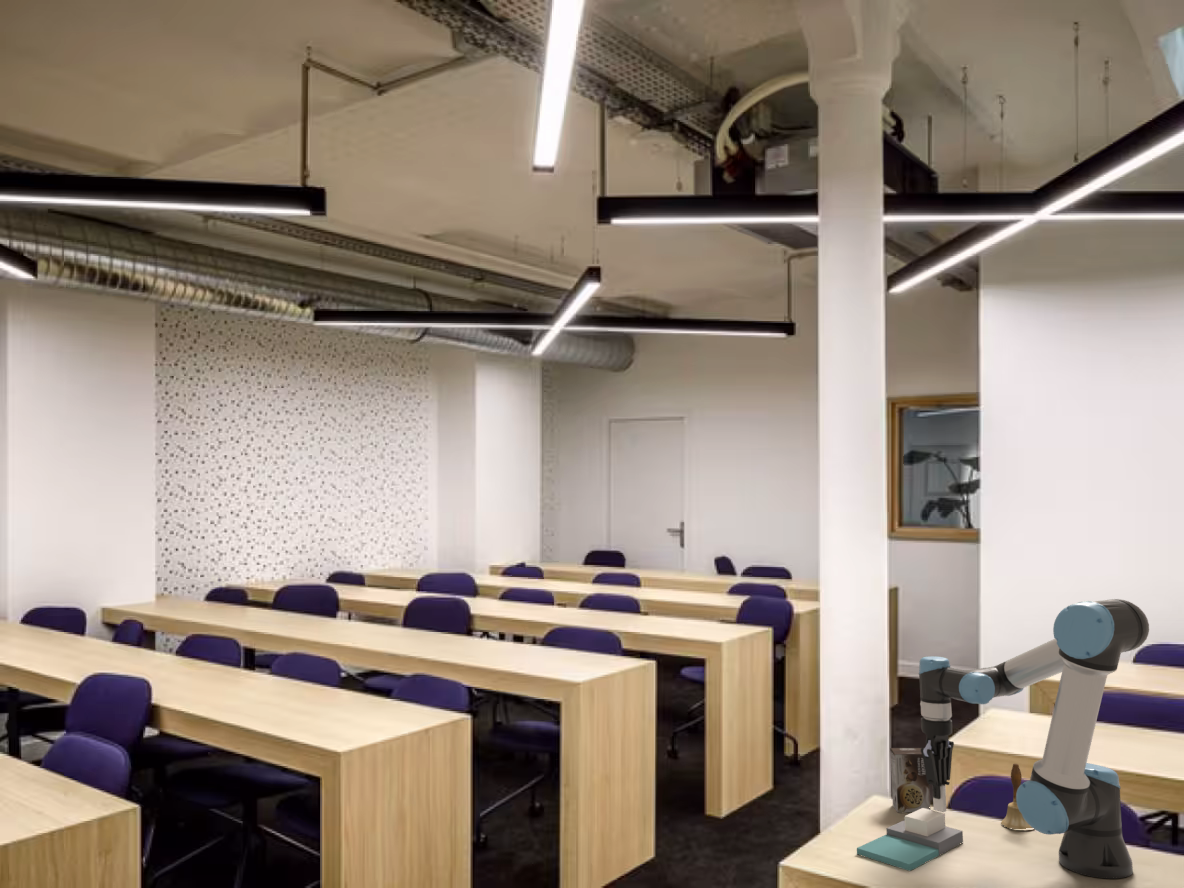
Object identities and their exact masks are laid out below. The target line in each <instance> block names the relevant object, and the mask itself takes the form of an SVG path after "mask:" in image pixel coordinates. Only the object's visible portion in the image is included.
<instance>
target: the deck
mask: <svg viewBox="0 0 1184 888" xmlns="http://www.w3.org/2000/svg"><path fill="white" fill-rule="evenodd" d="M886 834H887V835H890V836H894V837H897V838H901V839H904V840H907V841H911V842H914V843H918V844H921V845H925V846H928V847H932V848H935V849H938V850H939V856H941V855H943V854H945V853H947V852H949V851H951V850H952V848H953V849H954V847H955V846H956V847H958V846H960V845H961V844H960V843H962V842H963V843H964V831H963V830H961V829H957V828H953V827H950V826H946V825H945V828H944V829H942V830H940V831H938V832H936V833H933V834H931V835H929V836H924V835H920V834H917V833H913V832H910V831H906V830H905V819H904V820H901V821H899V822H897V823H895V824H893V825H890V826H888V827H886ZM963 843H962V844H963ZM959 844H960V845H959ZM957 845H958V846H957ZM956 847H955V848H956ZM950 849H951V850H950ZM948 850H949V851H948ZM946 851H947V852H946ZM942 853H943V854H942ZM940 854H941V855H940Z"/></svg>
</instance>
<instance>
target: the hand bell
mask: <svg viewBox="0 0 1184 888" xmlns="http://www.w3.org/2000/svg"><path fill="white" fill-rule="evenodd" d="M1022 780H1023V779H1022V772H1021V769H1020V766H1019V764H1018V763H1013V764H1012V768H1011V771H1010V781H1011V784H1012V789H1013V793H1012V795H1013V798H1012V799H1013V800H1012V802H1009V803H1008V805H1007V810H1006V816H1005V817H1004V818H1003V819H1002V820H1001V822H1000V825H1001V824H1002V825H1004V826H1005V827H1007V828H1006V829H1008V828H1012V829H1026V828H1032V827H1031V826H1030V825H1029V824H1028V823H1027V822H1026V821H1025V820H1024V818H1023V816H1022V813H1021V812H1020V811H1019V809H1018V806H1017V801H1016V793H1017V790H1018V788H1019V786H1020V785H1021V784H1022ZM1002 825H1001V826H1002ZM1005 827H1004V828H1005Z"/></svg>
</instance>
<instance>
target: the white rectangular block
mask: <svg viewBox="0 0 1184 888" xmlns="http://www.w3.org/2000/svg"><path fill="white" fill-rule="evenodd" d="M945 813H946V812H940V811H936V810H934V809H931V810H929V809H925V808H921V809H919V810H917V811H915V812H912V813H908V814H906V815H904V820H905V830H906V831H910V832H913V833H917V834H920V835H924V836H929V835H931V834H933V833H936V832H938V831H940V830H942V829H944V828H945V826H946V814H945Z"/></svg>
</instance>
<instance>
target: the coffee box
mask: <svg viewBox="0 0 1184 888" xmlns="http://www.w3.org/2000/svg"><path fill="white" fill-rule="evenodd" d="M921 748H922V747H890V748H889V749H890V751H889V752H890V772H891V791H892V793H891V794H892V795H891V796H892V799H891V800H892V806H893V808H894V810H895V811H896V812H897V813H898V814H899V813H900V812H901V813H902V812H915V811H917V810H919V809H921V808H925V809H929V810H932V809H931V795H930V794H931V792H930V784H928V783H927V778H926V772H925V766H924V760H923V756H922V753H921ZM929 807H930V808H929ZM901 813H900V814H901Z"/></svg>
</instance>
